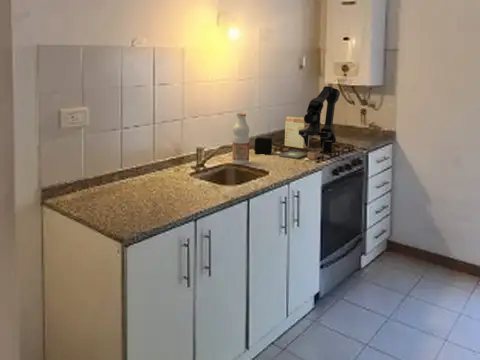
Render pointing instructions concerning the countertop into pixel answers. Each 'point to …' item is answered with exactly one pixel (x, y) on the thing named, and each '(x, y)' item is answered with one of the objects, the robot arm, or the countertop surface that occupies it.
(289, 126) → the coffeecake box
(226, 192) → the countertop surface
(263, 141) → the electronic device
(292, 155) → the pad
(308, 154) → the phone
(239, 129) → the fruit juice
